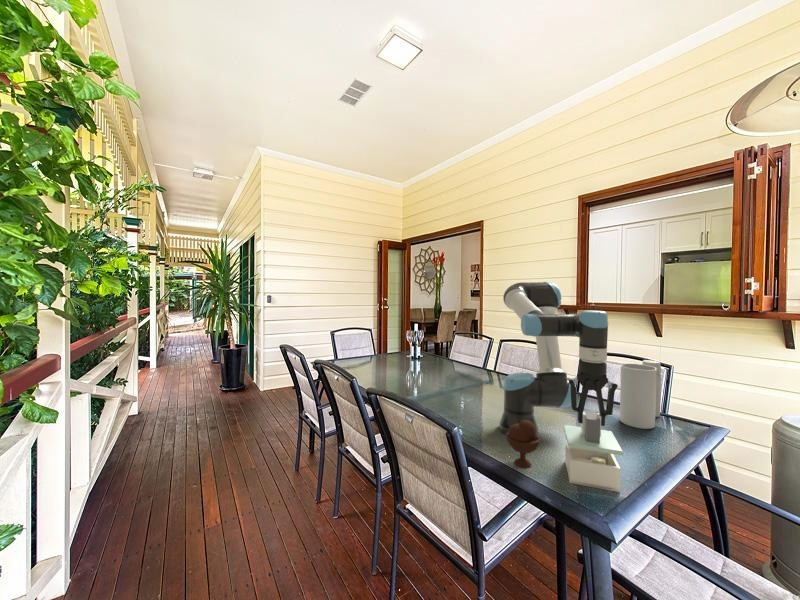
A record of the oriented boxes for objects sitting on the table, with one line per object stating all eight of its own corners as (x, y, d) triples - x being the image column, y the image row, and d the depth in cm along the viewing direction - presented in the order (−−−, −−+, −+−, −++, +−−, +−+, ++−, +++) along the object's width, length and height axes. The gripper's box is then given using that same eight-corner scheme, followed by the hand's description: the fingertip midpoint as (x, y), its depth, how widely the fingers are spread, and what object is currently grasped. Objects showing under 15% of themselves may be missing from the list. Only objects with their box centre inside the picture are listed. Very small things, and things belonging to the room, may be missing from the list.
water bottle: (655, 412, 157) (657, 360, 156) (663, 418, 149) (665, 363, 149) (633, 410, 159) (634, 359, 159) (640, 416, 152) (641, 362, 151)
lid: (568, 449, 100) (568, 420, 100) (563, 430, 113) (564, 404, 113) (622, 458, 95) (623, 427, 95) (611, 437, 108) (611, 410, 108)
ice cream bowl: (531, 455, 117) (531, 413, 117) (546, 472, 106) (546, 426, 105) (501, 455, 117) (501, 413, 116) (513, 473, 106) (513, 426, 105)
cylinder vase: (640, 431, 136) (641, 371, 136) (612, 419, 148) (614, 364, 148) (662, 427, 140) (663, 369, 139) (634, 416, 152) (635, 362, 151)
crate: (569, 482, 100) (570, 460, 100) (565, 461, 113) (565, 441, 112) (620, 492, 96) (620, 468, 96) (609, 469, 108) (610, 448, 108)
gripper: (564, 360, 102) (562, 435, 103) (627, 365, 96) (625, 444, 98) (561, 355, 109) (560, 425, 110) (620, 359, 103) (618, 433, 105)
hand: (590, 434), depth 104 cm, fingers closed on lid, 3 cm apart
